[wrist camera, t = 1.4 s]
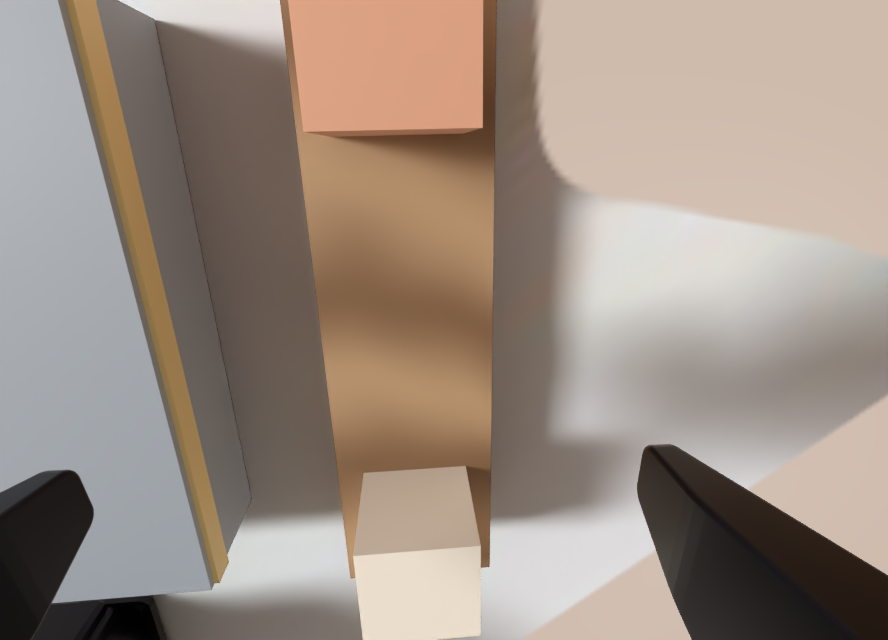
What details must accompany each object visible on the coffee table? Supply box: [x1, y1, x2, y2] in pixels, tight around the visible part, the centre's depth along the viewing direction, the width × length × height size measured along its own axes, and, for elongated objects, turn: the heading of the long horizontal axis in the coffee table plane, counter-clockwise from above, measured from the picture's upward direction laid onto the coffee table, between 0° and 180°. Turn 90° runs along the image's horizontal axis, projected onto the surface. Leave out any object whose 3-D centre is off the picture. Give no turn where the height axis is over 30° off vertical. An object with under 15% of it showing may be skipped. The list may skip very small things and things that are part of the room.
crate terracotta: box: [288, 0, 483, 137], centre depth 12 cm, size 4×4×4 cm
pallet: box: [280, 0, 497, 578], centre depth 18 cm, size 23×6×4 cm, turn 1°
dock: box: [0, 0, 251, 603], centre depth 17 cm, size 20×9×5 cm, turn 1°
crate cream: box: [353, 466, 481, 640], centre depth 17 cm, size 4×4×4 cm
